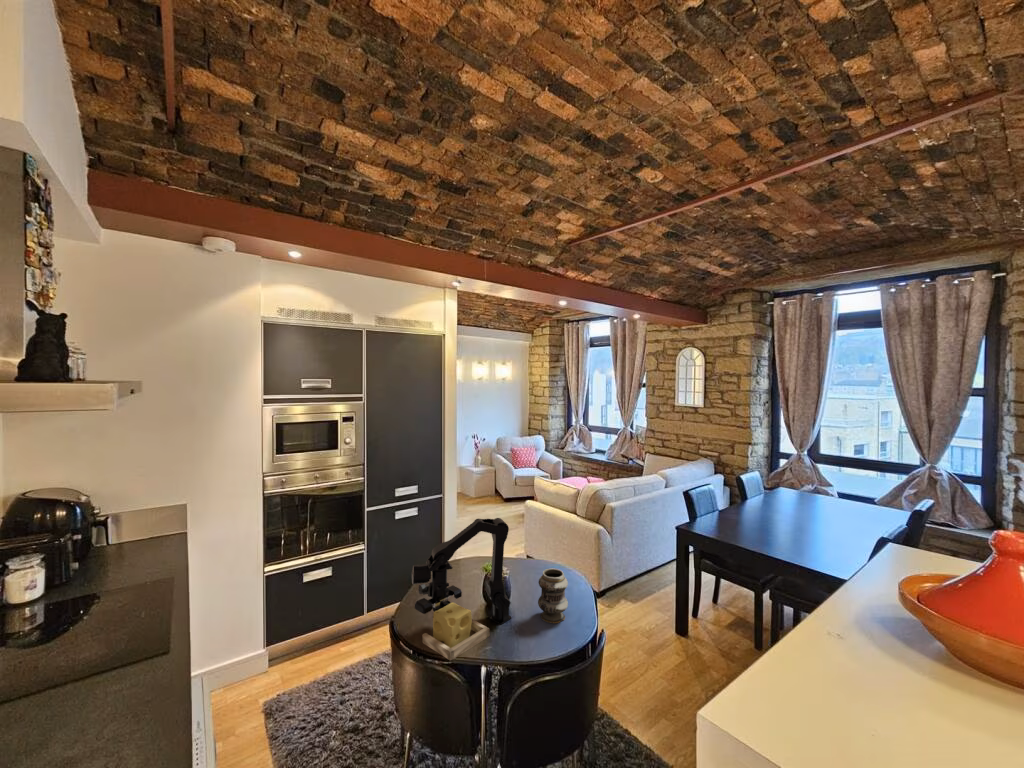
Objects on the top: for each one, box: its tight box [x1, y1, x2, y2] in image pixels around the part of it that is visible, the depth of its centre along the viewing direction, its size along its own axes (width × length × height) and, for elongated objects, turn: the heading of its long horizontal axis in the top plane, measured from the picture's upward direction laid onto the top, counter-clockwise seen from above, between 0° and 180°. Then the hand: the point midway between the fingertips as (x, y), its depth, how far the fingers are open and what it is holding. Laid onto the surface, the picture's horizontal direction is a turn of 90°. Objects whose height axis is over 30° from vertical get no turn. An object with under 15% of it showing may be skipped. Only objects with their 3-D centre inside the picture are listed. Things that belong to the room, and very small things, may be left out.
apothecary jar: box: [537, 567, 569, 624], centre depth 176 cm, size 12×12×18 cm
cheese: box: [432, 602, 473, 648], centre depth 162 cm, size 10×11×10 cm
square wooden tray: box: [422, 619, 490, 661], centre depth 161 cm, size 16×19×3 cm
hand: (438, 620), depth 167 cm, fingers closed
